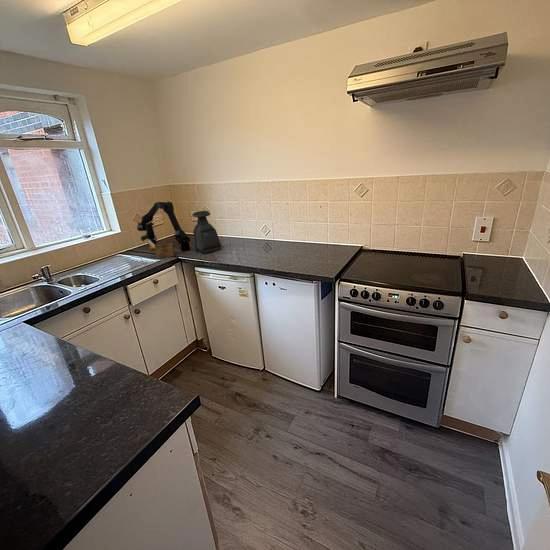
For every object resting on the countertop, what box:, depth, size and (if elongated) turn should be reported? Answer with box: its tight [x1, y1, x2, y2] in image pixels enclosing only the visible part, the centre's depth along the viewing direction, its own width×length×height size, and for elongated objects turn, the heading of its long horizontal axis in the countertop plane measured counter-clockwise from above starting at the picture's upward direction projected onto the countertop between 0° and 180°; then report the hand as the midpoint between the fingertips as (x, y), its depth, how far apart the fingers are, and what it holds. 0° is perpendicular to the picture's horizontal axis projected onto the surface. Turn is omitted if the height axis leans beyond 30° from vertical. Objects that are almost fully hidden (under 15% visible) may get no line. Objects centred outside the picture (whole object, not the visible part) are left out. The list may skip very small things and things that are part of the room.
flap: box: [147, 239, 155, 248], centre depth 227 cm, size 6×12×1 cm
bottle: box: [191, 210, 222, 255], centre depth 228 cm, size 18×16×30 cm
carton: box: [154, 242, 176, 260], centre depth 232 cm, size 13×12×8 cm
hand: (154, 248), depth 253 cm, fingers open, 8 cm apart
